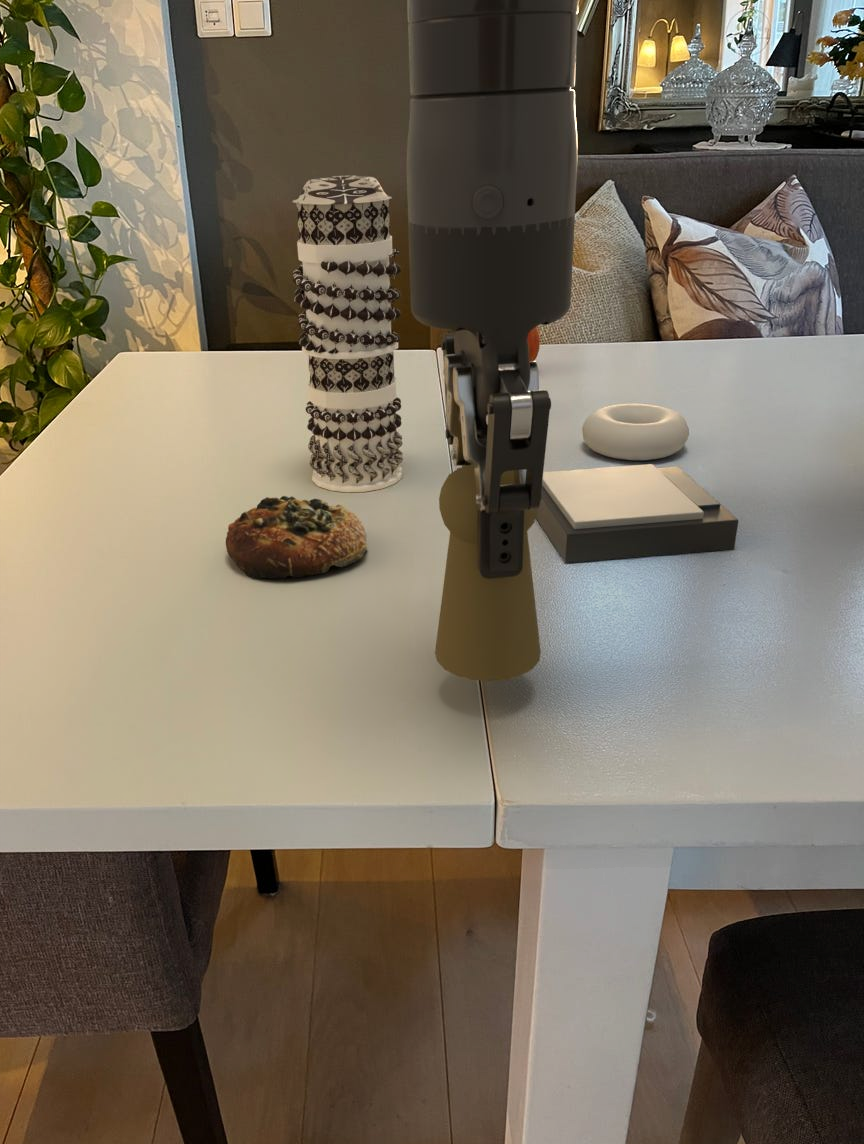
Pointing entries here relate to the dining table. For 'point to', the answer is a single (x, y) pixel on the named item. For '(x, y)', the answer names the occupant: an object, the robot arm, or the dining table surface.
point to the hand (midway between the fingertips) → (488, 550)
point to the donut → (635, 431)
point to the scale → (631, 514)
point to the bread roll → (294, 538)
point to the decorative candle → (349, 332)
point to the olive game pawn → (483, 596)
